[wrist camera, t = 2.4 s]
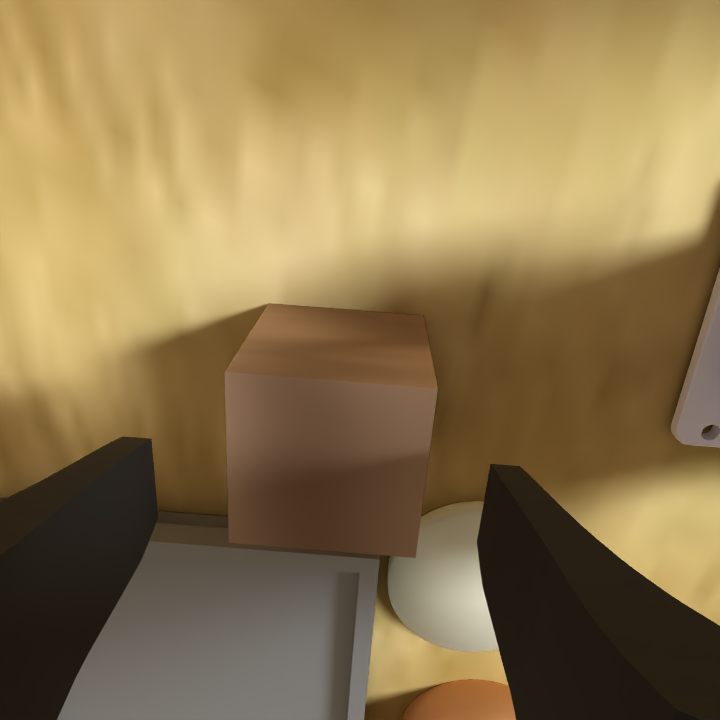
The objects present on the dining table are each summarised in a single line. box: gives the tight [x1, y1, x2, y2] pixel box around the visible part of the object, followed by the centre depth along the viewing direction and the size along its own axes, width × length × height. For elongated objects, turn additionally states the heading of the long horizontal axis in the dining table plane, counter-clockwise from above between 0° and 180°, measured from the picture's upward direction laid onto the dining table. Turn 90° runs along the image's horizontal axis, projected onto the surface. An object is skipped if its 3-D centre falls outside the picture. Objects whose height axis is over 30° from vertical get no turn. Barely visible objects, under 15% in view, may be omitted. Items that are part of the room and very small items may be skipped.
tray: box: [0, 499, 380, 720], centre depth 21 cm, size 13×13×2 cm
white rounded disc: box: [388, 501, 499, 652], centre depth 20 cm, size 6×6×1 cm
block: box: [224, 304, 438, 558], centre depth 15 cm, size 4×4×5 cm
